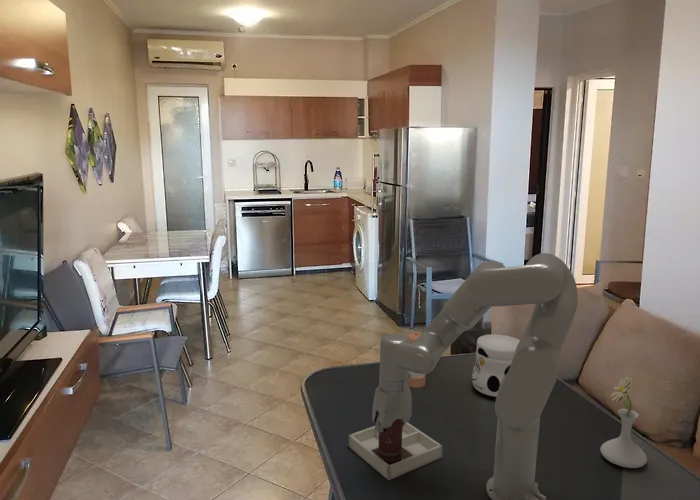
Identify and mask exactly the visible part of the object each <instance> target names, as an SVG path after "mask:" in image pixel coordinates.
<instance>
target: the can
mask: <svg viewBox="0 0 700 500" xmlns="http://www.w3.org/2000/svg"><path fill="white" fill-rule="evenodd" d="M385 429H386V432H379V453H378V457H380V458H381V459H382V460H383V461H385V462H386V463H387V464H388V465H391V464H394V463H396V462H399V461H401V458H402V429H403V418H402V419H397V420H395V421H394V422H393V423H392V426H391V427H388V428H385Z"/></svg>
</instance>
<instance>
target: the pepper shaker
mask: <svg viewBox="0 0 700 500" xmlns="http://www.w3.org/2000/svg"><path fill="white" fill-rule="evenodd" d="M421 334H422V333H420V332H418V331H415V332H411V333H409V334H408V335H407V336H406V337H407V338H408V339H409V341H410V343H413V342H415V341H416V339H417V338H418V337H419V336H420V335H421ZM409 373H410V375H411V378H409V383H408V384H409V386H410V388H412V389H413V388H414V389H418V388H423V387H424V386H426V374H418V373H415V372H412V371H409Z"/></svg>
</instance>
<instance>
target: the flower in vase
mask: <svg viewBox="0 0 700 500" xmlns="http://www.w3.org/2000/svg"><path fill="white" fill-rule="evenodd" d="M632 381H633V379H632V377H630V378H629V376H624V378H621V379H619V382H618V383H617V385H616V386H614V387H613V390H614V391H612V393H611V395H610V398H611V401H612V402H614V403H619V402H621V401H622V400H623V399H624V400H623V405H624V407H625V408H620V409H618V410H617V414H618V415H619V416H620V419H621V431H620V435H619V436H618V437H615V438H612V439H609V440H607V441H605V442H604V443H602V444H601V445H600V449H599V451H600V453H601V456H602V457H604V459H606V460H607V461H608V462H610V463H612V464H614V465H617V466H620V467H623V468H626V469H627V468H628V469H629V468H630V469H638V468H642V467H643V466H645V464H647V463H648V457H647V455H646V453H645V452H644V451H643V449H642V448H640V446H638V445H637V444H636V443H635V442H634V441H633V439H632V438H631V432H632V427H633V424H634V422H635V421H636V420H637V419H638V418H639V417H640V415H639V413H638V412H637V411H635V410H633V409H634V405H633V403H632V401H631V399H630V396H629V393H630V390H631V389H632V385H633V382H632Z"/></svg>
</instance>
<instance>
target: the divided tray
mask: <svg viewBox="0 0 700 500" xmlns="http://www.w3.org/2000/svg"><path fill="white" fill-rule="evenodd" d="M347 445H348V448H350V449H351V450H352V451H354V453H356V454H357V455H358V456H359V457H360V458H362V459H363V460H364V461H365V462H366V463H367V464H369V465H370V466H371V467H372V468H373V469H374V470H375V471H377V472H378V473H379V474H380V475H381V476H383V477H384V478H385V479H386V480H388V481H391V480H393V479H395V478H397V477H400V476H402V475H405V474H406V473H409V472H411V471H413V470H417V469H419V468H421V467H423V466H426V465H428V464H430V463H433V462H434V461H437V460H440V459H442V458H443V445H442V444H440V442H437V441H436V440H435V439H433V438H431V437H430V436H429V435H427V434H426V433H424V432H422V431H421V430H420V429H419V428H417V427H415V426H414V425H412V424H410V423H409V422H407V423H406V424H404V425H403V429H402V458H401V461H399V462H396V463H394V464H391V465H388V464H387V463H386V462H385V461H383V460H382V459H381V458H380V457H378V453H379V432H377V431H376V430H375V425H373V426H371V427H367V428H365V429H362V430H359V431H356V432H354V433H351V434H348V443H347Z"/></svg>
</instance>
